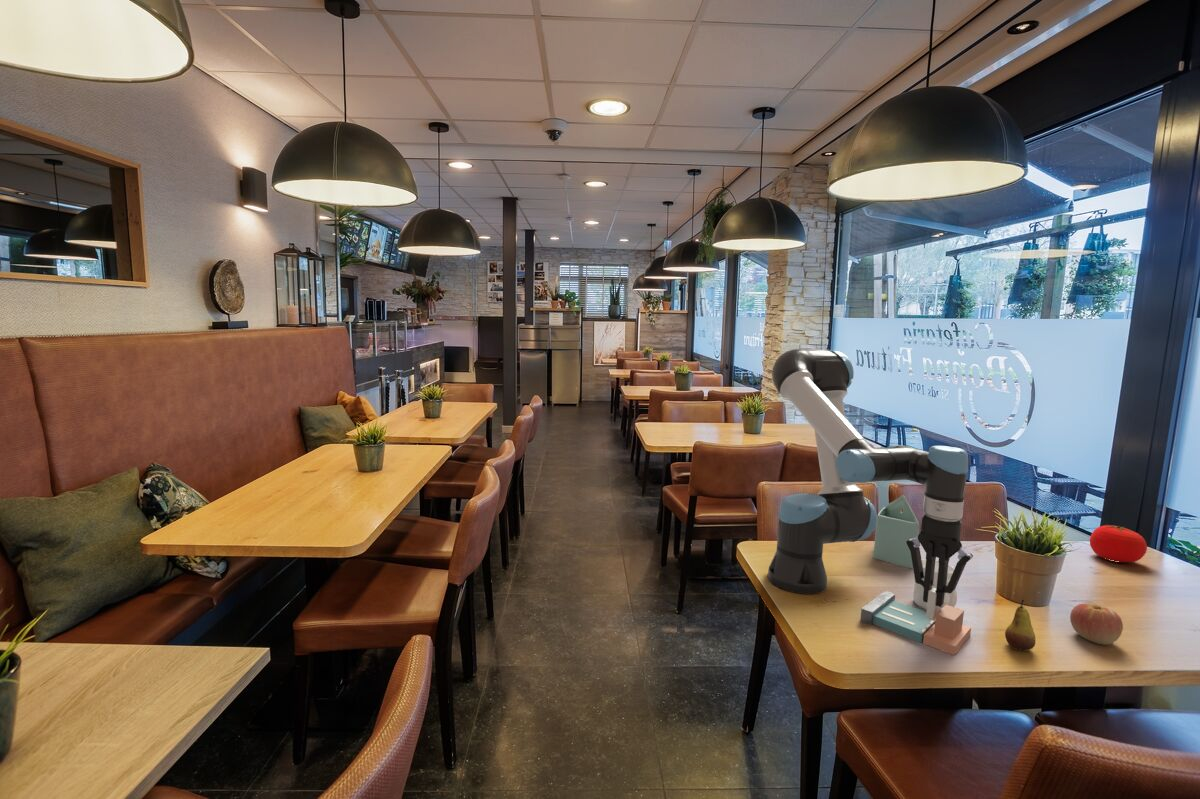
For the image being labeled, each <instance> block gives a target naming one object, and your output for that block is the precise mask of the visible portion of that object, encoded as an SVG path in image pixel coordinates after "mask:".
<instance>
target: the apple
mask: <svg viewBox="0 0 1200 799" xmlns="http://www.w3.org/2000/svg"><path fill="white" fill-rule="evenodd" d="M1069 617H1070V618H1069V620H1070V624H1071V626H1072V628H1073V630H1074V631H1075V632H1076V633H1077V634H1078V635H1079V636H1080V637H1082V638H1083V639H1085V640H1087V641H1089V642H1093V643H1095V644H1098V645H1106V646H1107V645H1110V644H1112V643H1115V642H1116V641H1117V640H1119V638H1120V637H1121V635H1122V633H1123V630H1124V624H1123V619H1122V617H1121V616H1120V615H1119V614H1118V613H1117V612H1116V611H1114V610H1113V609H1111V608H1109V607H1106V606H1103V605H1101V604H1097V603H1096V604H1095V603H1079V604H1077V605H1075V606H1073V608H1072V609H1071V612H1070V616H1069Z"/></svg>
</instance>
